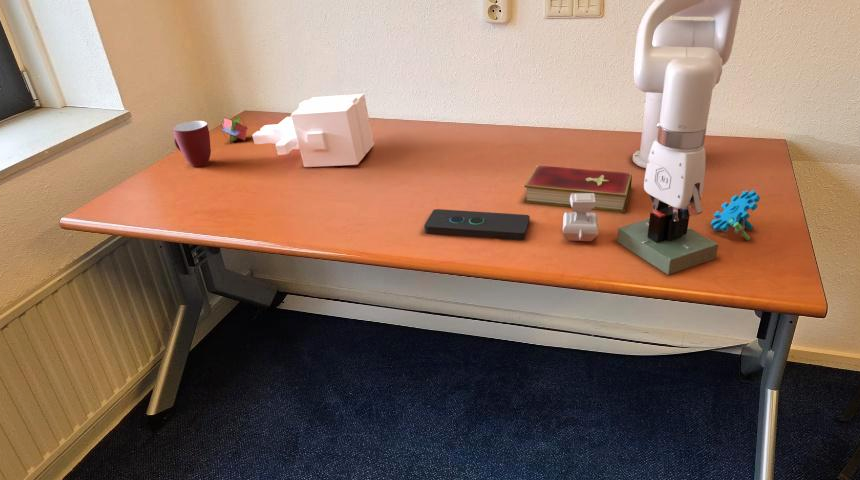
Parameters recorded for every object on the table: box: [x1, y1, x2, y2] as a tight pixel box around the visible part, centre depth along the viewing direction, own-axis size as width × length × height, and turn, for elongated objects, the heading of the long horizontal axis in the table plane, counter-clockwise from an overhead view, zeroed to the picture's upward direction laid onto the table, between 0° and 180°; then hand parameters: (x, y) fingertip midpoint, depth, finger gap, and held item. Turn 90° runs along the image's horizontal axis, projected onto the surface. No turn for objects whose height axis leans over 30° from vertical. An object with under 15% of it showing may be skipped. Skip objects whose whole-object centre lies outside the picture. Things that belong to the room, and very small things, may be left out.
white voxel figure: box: [251, 93, 375, 168], centre depth 165 cm, size 15×25×28 cm
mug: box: [172, 120, 212, 168], centre depth 165 cm, size 11×8×10 cm
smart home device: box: [423, 208, 531, 241], centre depth 131 cm, size 8×2×20 cm
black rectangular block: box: [647, 205, 690, 243], centre depth 118 cm, size 7×3×5 cm, turn 117°
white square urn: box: [562, 193, 599, 242], centre depth 125 cm, size 9×7×8 cm
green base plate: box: [616, 218, 719, 276], centre depth 120 cm, size 14×11×3 cm
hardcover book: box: [523, 164, 633, 213], centre depth 142 cm, size 12×21×4 cm, turn 72°
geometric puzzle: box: [220, 115, 249, 144], centre depth 180 cm, size 7×7×8 cm
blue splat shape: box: [710, 189, 761, 241], centre depth 125 cm, size 11×6×10 cm
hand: (667, 233), depth 119 cm, fingers open, 3 cm apart
